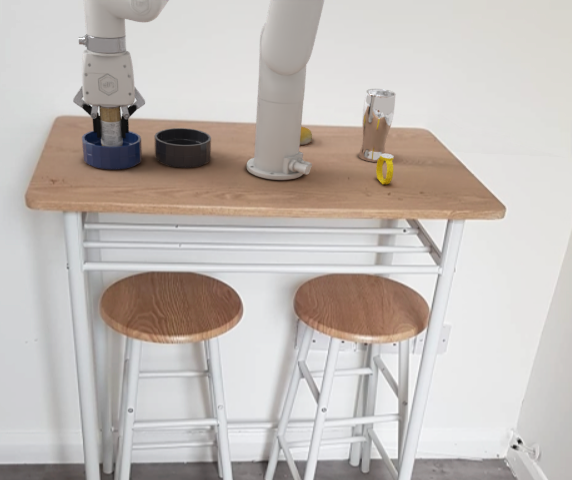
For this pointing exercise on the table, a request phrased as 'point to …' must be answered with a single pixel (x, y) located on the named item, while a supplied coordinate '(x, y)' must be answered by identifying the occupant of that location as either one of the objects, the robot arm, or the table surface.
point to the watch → (389, 163)
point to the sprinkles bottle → (110, 125)
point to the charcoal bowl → (182, 147)
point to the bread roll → (305, 136)
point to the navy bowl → (112, 152)
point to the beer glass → (376, 122)
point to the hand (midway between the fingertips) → (111, 135)
